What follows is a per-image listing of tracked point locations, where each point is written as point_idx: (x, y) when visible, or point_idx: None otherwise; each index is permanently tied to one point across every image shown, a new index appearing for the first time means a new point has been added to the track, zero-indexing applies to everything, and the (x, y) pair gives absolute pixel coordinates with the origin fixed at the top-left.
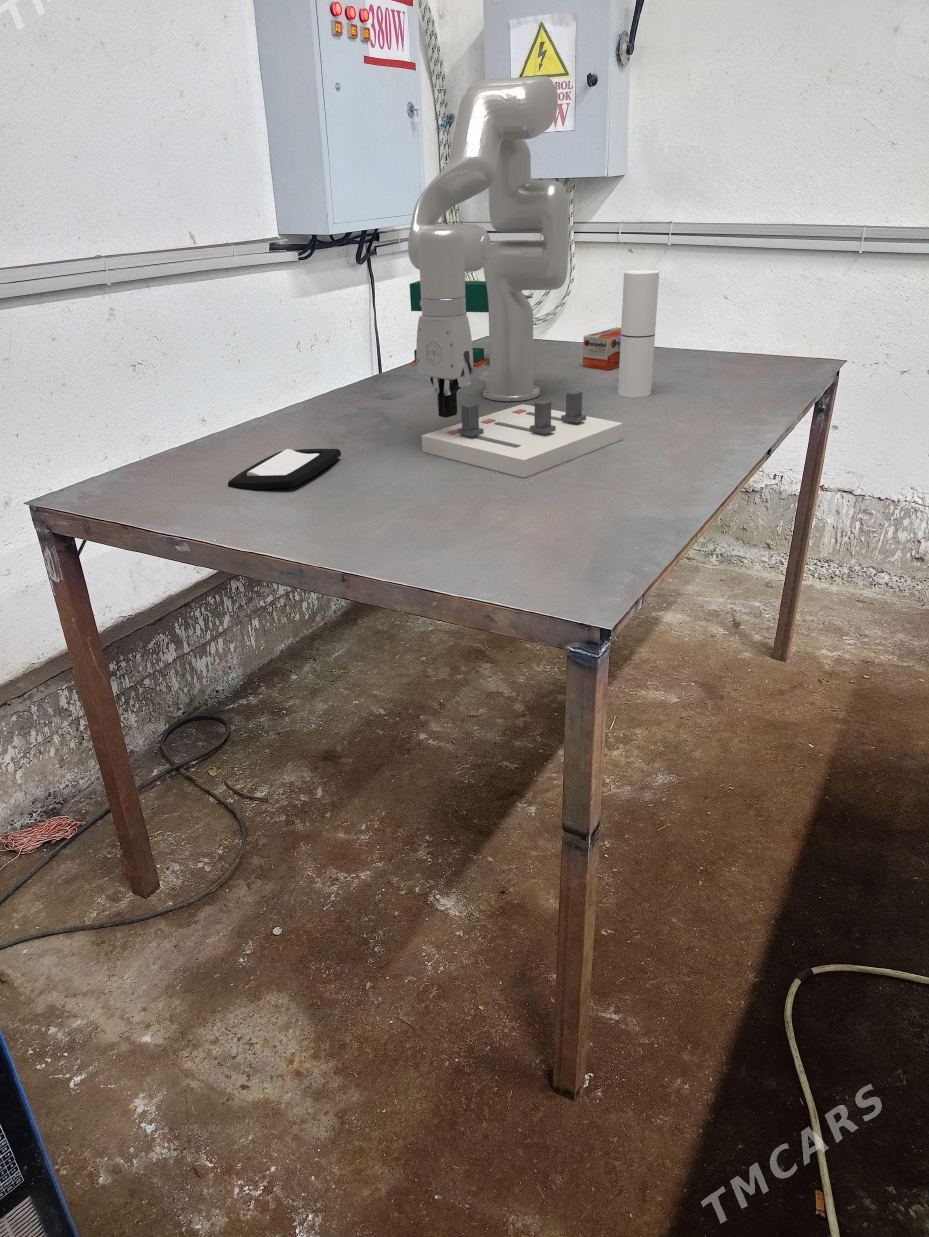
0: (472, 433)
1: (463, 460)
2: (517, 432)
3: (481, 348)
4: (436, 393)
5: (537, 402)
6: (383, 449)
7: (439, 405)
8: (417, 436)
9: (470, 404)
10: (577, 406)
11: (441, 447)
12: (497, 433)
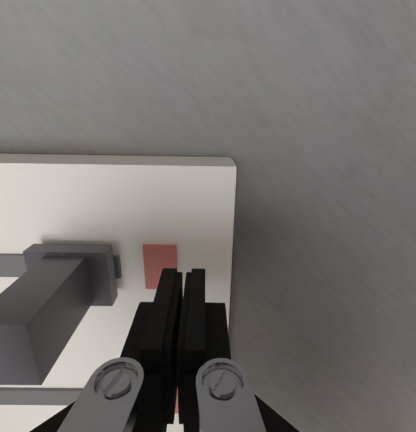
0: (26, 249)
1: (35, 154)
2: None
3: None
4: (226, 359)
5: None
6: (371, 92)
7: (194, 299)
8: (356, 264)
9: (13, 366)
10: None
11: (130, 160)
12: None
